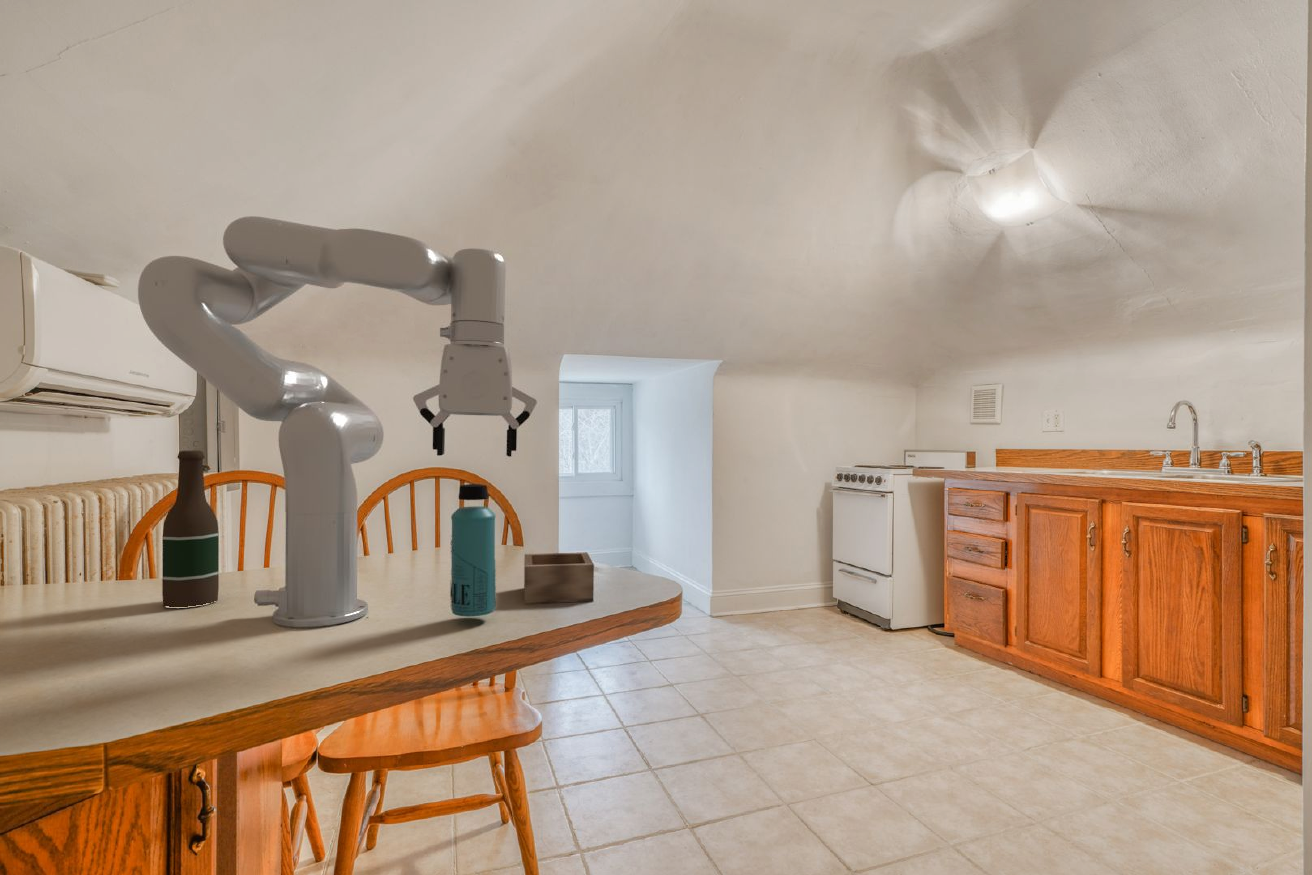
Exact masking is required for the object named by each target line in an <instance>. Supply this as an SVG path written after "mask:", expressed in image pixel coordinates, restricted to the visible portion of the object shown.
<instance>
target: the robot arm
mask: <svg viewBox="0 0 1312 875" xmlns="http://www.w3.org/2000/svg"><path fill="white" fill-rule="evenodd" d="M222 244H223V247H224V251H225V254H226V255H227V257H228V258H229V259H230V261H231V262H232V263H233V264H234V265H235V266H237V267H236V268H234V269H228V268H225V267H222V266H219V265H217V264H215V263H211V262H208V261H205V260H201V259H198V258H194V257H191V256H190V257H189V256H181V255H169V256H168V255H167V256H163V257H159V258H156V259H153V260H152V261H150V262H149V263H148V264H147V265H145V267H144V268H143V269H142V272H141V273H140V276H139V280H138V285H137V298H138V303H139V304H138V305H139V308H140V312H141V315H142V317H143V319H144V322H145V323H146V325H147V327H148V328H149V330H150V332H151V333H153V335H154V337H156V339H157V340H158V341H159V342H160V343H161V344H162V345H163V346H164V347H165V348H166V349H168V351H170V352H171V353H172V354H173V355H174V356H175V357H177V358H179V360H181V361H183V363H185V364H186V365H187V366H189V367H190V368H191V369H193V370H194V371H195V372H196V373H198V374H199V375H200V376H201V377H203V379H204V380H206V381H207V382H208V383H209V384H210V385H211V386H213V387H214V388H215V389H216V390H217V391H218V392H220V393H221V394H222V395H224V396H225V397H226V398H228V400H230V401H231V402H232V403H234V404H235V406H237V407H238V408H240V409H241V410H242V411H243V412H244V413H246V414H247V415H248V416H250V417H252V418H255V419H257V420H259V421H265V422H281V424H280V426H279V431H278V449H279V454H280V459H281V464H282V469H283V479H284V491H285V492H284V495H285V496H284V500H285V502H284V505H285V506H284V507H285V558H284V559H285V561H284V562H285V566H284V567H285V570H284V571H285V572H284V573H285V580H284V582H285V585H284V586H283V587H279V589H277V590H276V589H275V590H271V589H261V590H260V589H259V590H255V592H254V594H253V595H254V596H253V597H254V598H253V602H254V604H256V605H257V606H259V607H262V606H263V607H265V606H275V607H276V608H277V609H275V610H274V612H272V621H273V623H275V624H276V625H278V624H279V625H278V626H283V627H287V628H288V627H289V628H318V627H326V626H334V625H337V624H343V623H347V622H351V621H355V620H358V619H359V618H362V617H363V616H364V617H365V615H366V614H367V613H368V612H369V604H368V602H366V601H365V600H362V599H359V598H358V491H357V489H358V488H357V484H356V483H357V482H356V478H355V475H354V471H353V467H352V464H357V463H358V464H359V463H362V462H365V461H367V460H369V459H371V458H373V457H374V456H375V455H376V454H377V453H378V452H379V451H380V449H381V447H382V444H384V443H383V442H384V437H385V436H384V428H383V425H382V422H381V420H380V419H379V417H378V415H377V414H376V413H375V412H374V411H373V410H372V409H371V408H370V407H369V406H368V405H366V404H365V403H364V402H363V401H362V400H360V399H359V398H358V397H356V396H355V395H354V394H353V393H352V392H350V391H349V390H348V389H346V388H345V387H344V386H343V385H342V384H340V383H339V382H337V381H336V380H335V379H334V378H333V377H332V376H330V375H329V374H327V373H326V372H325V371H323V370H322V369H319V368H318V367H315V366H314V365H312V364H307V363H304V362H300V361H294V360H289V359H288V360H287V359H284V358H280V357H277V356H275V355H273V354H271V353H270V352H268V351H267V350H265V349H264V348H263V347H261V346H260V345H259V344H257V343H256V342H255V341H253V339H251V338H250V337H249V336H248V335H247V334H245V333H244V332H243V331H241V330H240V329H238V328H237V327H235V326H236V325H242V324H243V325H244V324H246V323H249V322H251V321H253V320H255V319H257V318H259V317H260V316H262V315H263V314H264V313H266V312H268V311H269V310H271V309H272V308H274V307H276V306H277V305H279V303H281V302H283V301H284V300H286V299H288V298H289V297H290V296H292V295H293V294H295V293H296V292H297V291H299V290H300V289H302V288H303V287H304V286H305V285H310V286H315V287H321V288H326V289H337V288H339V287H342V286H343V285H344V284H345V283H349V284H350V283H351V284H358V285H364V286H369V287H376V288H380V289H386V290H391V291H395V292H399V293H401V294H404V295H406V296H408V297H410V298H412V299H414V300H417V301H419V302H420V303H423V304H426V305H429V306H445V305H450V324H449V325H448V326H446V327H440V328H439V337H441V338H445V339H448V340H449V342H450V343H449V344H445V345H444V346H443V350H442V357H441V362H440V370H439V372H440V373H439V384H436V385H434V386H432V387H430V388H428V389H426V390H424V391H422V392H421V391H420V393H417V394H415V395H413V397H412V400H413V403H414V405H415V406H416V408H417V410H418V412H419V414H420V416H422V418H424V420H426V422H428V424H429V425H430V426H431V427H432V450H436V456H440V457H441V456H443V455H444V454H445V446H446V445H445V436H446V435H445V434H446V430H445V429H446V428H445V427H444V422H445V421H446V420H447V419H448V418H449V417H450V416H451V415H454V416H455V415H457V416H460V415H461V416H462V415H463V416H489V417H490V416H492V417H493V416H496V417H497V416H498V417H499V416H502V419H504V420H505V422H506V423H507V424H508V426H507V427H508V429H506V452H505V453H506V456H507V457H512V452H517V446H518V445H517V442H518V441H517V438H518V437H517V436H518V435H517V434H518V428H519V427H520V426H522V424H525V422H526V421H527V420H528V419H529V418H530V416H531V415H532V413H533V411H534V409H535V408H536V405H537V403H538V402H537V401H538V400H537V399H536V398H534V397H532V396H530V395H528V394H527V393H524V392H523V391H521V390H520V389H517V388H516V387H514V386H513V374H512V373H513V370H512V360H511V353H510V348H509V347H506V346H505V312H506V311H505V309H506V308H505V306H506V305H505V304H506V261H505V260H504V257H503V255H501V254H500V253H498V252H496V251H493V250H489V249H485V248H473V247H471V248H464V249H463V248H462V249H459V250H458V251H456V252H455V253H454V255H453V257H450V256H448V255H445V254H443V253H440V252H438V251H437V250H436V249H434V248H432V247H431V246H430V245H428V244H426V243H425V242H423V241H421V240H418V239H415V238H413V237H409V236H405V235H402V234H401V235H400V234H396V233H395V234H394V233H389V232H383V231H379V230H371V229H366V228H338V229H335V228H328V227H321V226H316V225H310V224H309V225H308V224H304V223H299V222H293V221H288V220H282V219H277V218H276V219H275V218H270V217H265V216H264V217H263V216H253V215H252V216H251V215H250V216H244V217H239V218H238V219H235V220H233V221H232V222H230V224H228V225H227V227H226V229H225V230H224V233H223V237H222ZM436 396H438V409H439V411H438V412H437V414H436V415H435V414H434V413H433V412H432V411H431V410H430V409H429V407H428V405H427V401H428V400H431V399H433V398H434V397H436ZM513 398H514V399H517V400H518V401H520V402H522V403H524V405H525V406H524V409H523V410H522V412H521V413H520V414H519V415H517V416H516V418H515V416H513V415H512V413H511V411H512V408H513Z"/></svg>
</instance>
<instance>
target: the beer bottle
mask: <svg viewBox="0 0 1312 875" xmlns="http://www.w3.org/2000/svg"><path fill="white" fill-rule="evenodd" d="M204 453H205V452H204V451H202V450H181V451H179V452H178V454H177V457H176V458H177V459H178V460H179V463H178V464H179V467H178V482H177V490H176V491H177V493H176V497H175V498H176V499H175V502H174V504H173V505H172V506H171V508H170V509H169V511H168V512H167V513H166V514H167V515H166V517H165V519H164V521H163V528H162V538H161V539H162V546H161V547H162V554H161V555H162V559H161V560H162V561H161V562H162V575H161V576H162V584H161V585H162V586H161V588H162V595H161V596H162V606H169V607H188V606H196V605H203V604H206V603H211V602H214V601H217V602H218V600H219V584H220V583H219V578H220V577H219V566H220V565H219V555H220V554H219V552H220V549H219V548H220V546H219V542H220V540H219V538H220V536H219V534H220V533H219V531H220V530H219V521H218V519H217V516H216V513H215V511H214V509H213V508H212V507H211V506H210V504H209V503H208V501H207V497H206V492H205V491H206V490H205V478H204V462H203V461H204V460H203V459H205V458H206V457H205V454H204Z"/></svg>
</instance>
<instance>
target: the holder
mask: <svg viewBox="0 0 1312 875" xmlns="http://www.w3.org/2000/svg"><path fill="white" fill-rule="evenodd" d="M523 562H524V563H523V564H524V569H523V570H524V572H523V573H524V574H523V576H524V577H523V578H524V580H523V581H524V582H523V583H524V585H523V588H524V589H523V590H524V594H523V596H524V605H533V604H534V605H535V603H538V604H554V603H555V604H560V603H559V602H563V603H579V602H578V601H589V602H594V594H595V593H594V592H595V591H594V589H595V588H594V587H595V586H594V584H595V582H594V581H595V580H594V579H595V578H594V577H595V574H594V573H595V570H594V569H595V565H594V564H595V563H594V562H593V560H592V559H591V557H590V555H589V553H588V552H585V551H584V552H551V553H550V552H547V553H546V552H545V553H524V561H523Z"/></svg>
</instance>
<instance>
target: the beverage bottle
mask: <svg viewBox="0 0 1312 875" xmlns="http://www.w3.org/2000/svg"><path fill="white" fill-rule="evenodd" d="M488 493H489V492H488V485H486V484H480V483H468V484H467V483H466V484H461V485H459V492H458V499H459V500H460V501H461V500H462V501H483V500H488V499H489V494H488ZM495 535H496V513H495V512H494V511H493V510H492V509H491V508H489V507H488V506H478V505H476V506H473V505H472V506H461V507H458V508H457V509H456V510H455V511H454V512H453V513H452V514H451V535H450V537H451V539H450V542H449V543H450V555H451V569H450V575H451V579H450V580H449V581H450V591H449V593H450V599H449V600H450V609H451V612H452V614H453V615H455V616H457V617H481V616H486V615H489V614H492V613H493V612H494V611H495V608H496V606H497V604H496V591H497V589H496V571H497V568H496V558H495V557H496V556H495V555H496V553H495V552H496V551H495V550H496V548H495V546H496V536H495Z"/></svg>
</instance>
